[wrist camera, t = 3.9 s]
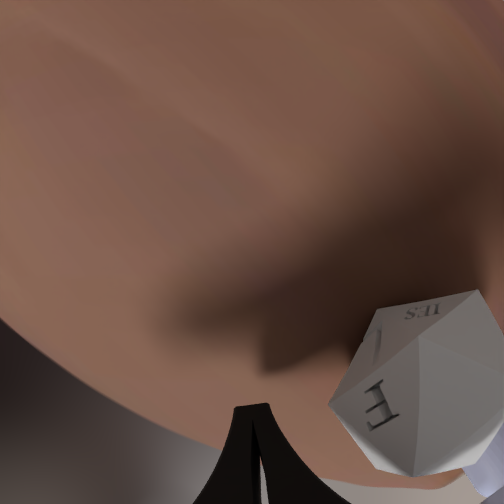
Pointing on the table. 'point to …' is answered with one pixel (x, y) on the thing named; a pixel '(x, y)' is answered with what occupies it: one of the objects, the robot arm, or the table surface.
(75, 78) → the table surface
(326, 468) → the table surface
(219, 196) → the table surface
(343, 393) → the die
